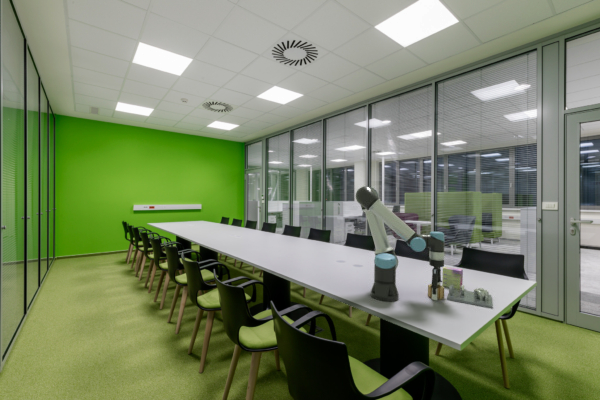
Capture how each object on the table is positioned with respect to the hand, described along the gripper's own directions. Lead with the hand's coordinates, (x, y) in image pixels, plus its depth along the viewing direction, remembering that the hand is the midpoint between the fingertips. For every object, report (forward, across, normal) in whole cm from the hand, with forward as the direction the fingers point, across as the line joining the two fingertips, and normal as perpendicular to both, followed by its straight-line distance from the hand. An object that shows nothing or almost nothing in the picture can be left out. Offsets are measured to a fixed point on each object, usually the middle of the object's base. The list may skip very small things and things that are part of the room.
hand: (436, 296), depth 156 cm
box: (0, +27, -6) cm, 28 cm away
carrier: (0, +9, -16) cm, 18 cm away
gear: (0, 0, 0) cm, 0 cm away
